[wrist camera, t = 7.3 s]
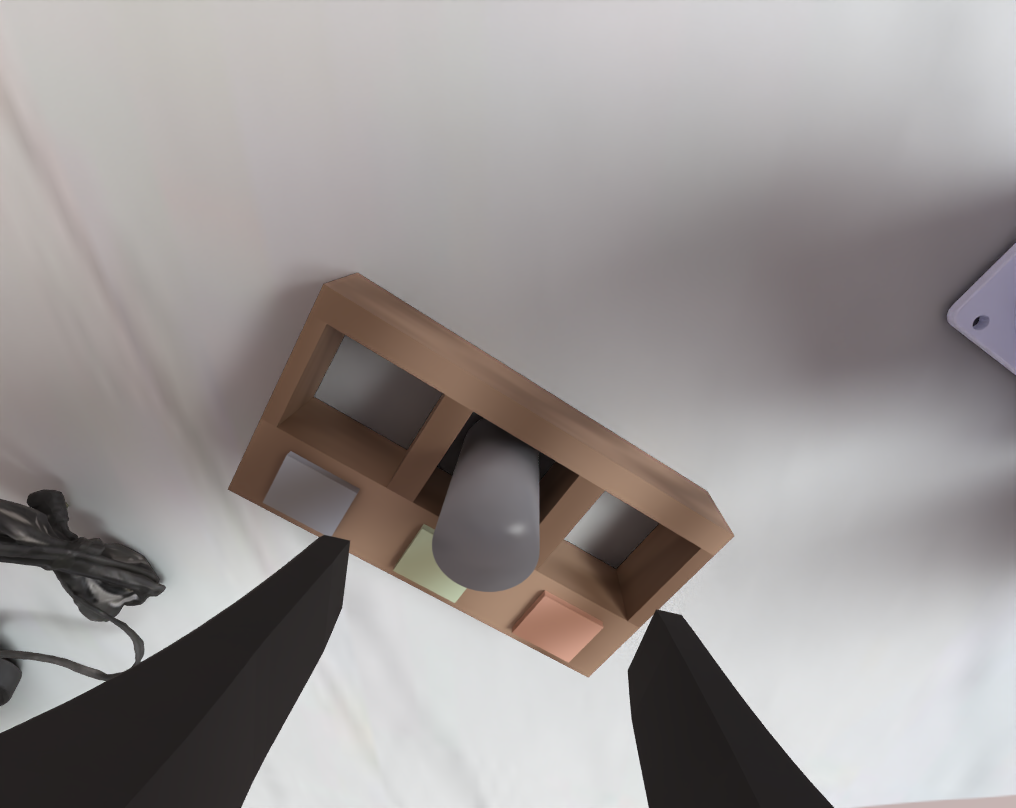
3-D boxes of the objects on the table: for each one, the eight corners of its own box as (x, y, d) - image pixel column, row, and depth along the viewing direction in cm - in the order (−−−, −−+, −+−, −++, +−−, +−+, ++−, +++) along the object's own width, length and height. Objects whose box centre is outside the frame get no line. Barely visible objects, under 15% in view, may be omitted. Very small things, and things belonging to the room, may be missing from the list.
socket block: (707, 491, 20) (737, 541, 17) (582, 621, 23) (589, 684, 20) (357, 272, 18) (319, 285, 14) (269, 452, 21) (222, 493, 18)
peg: (546, 423, 19) (550, 516, 13) (530, 489, 21) (527, 600, 15) (469, 407, 19) (439, 494, 13) (458, 474, 21) (425, 581, 15)
